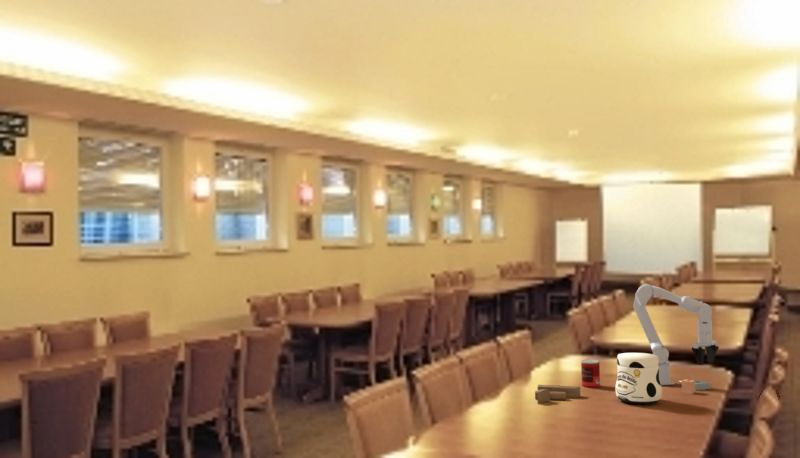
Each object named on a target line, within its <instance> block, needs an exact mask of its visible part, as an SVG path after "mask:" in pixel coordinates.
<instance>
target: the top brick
mask: <svg viewBox="0 0 800 458" xmlns="http://www.w3.org/2000/svg"><path fill="white" fill-rule="evenodd" d="M695 380H696V379H695ZM695 380H694V379H688V378H687V379H685V378H684V379H683V380H681V381H682V382H681V393H682V394H687V393H688V394H689V395H693V394H695V393H696V390H695ZM688 394H687V395H688Z"/></svg>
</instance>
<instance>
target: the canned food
mask: <svg viewBox="0 0 800 458" xmlns="http://www.w3.org/2000/svg"><path fill="white" fill-rule="evenodd" d="M580 367H581V385H582V387H583V386H584V388H587V387H588V388H589V389H596V388H599V387H600V386H601V384H600V383H601V382H600V381H601V379H600V377H601V375H600V374H601V373H600V372H601V371H600V369H601V368H600V360H598V359H591V358H590V359H589V358H587V359H582V360H581V366H580Z"/></svg>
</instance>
